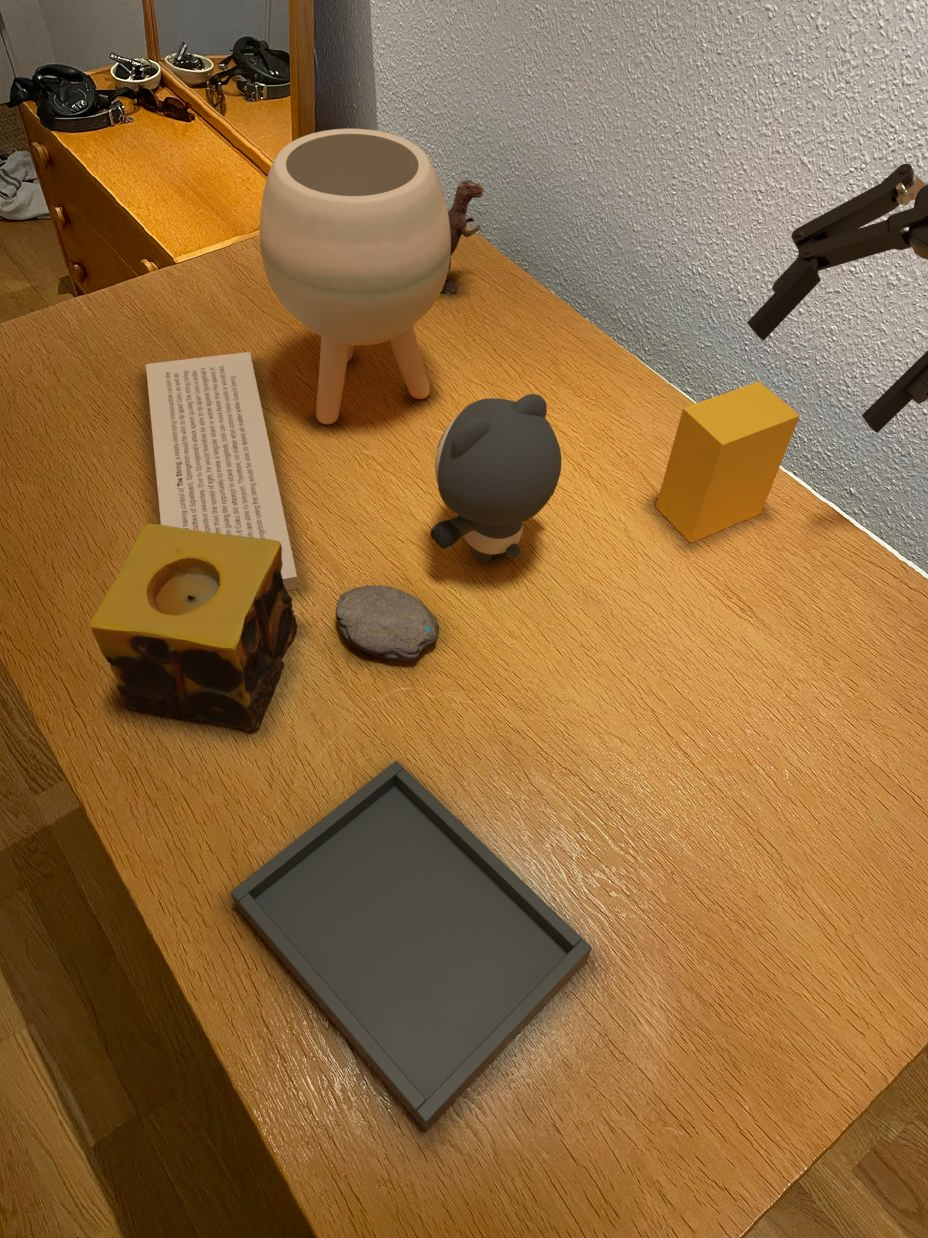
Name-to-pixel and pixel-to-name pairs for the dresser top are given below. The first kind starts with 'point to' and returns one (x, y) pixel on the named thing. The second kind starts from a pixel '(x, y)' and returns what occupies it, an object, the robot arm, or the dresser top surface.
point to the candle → (197, 625)
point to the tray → (411, 938)
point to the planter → (356, 247)
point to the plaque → (215, 451)
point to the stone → (386, 622)
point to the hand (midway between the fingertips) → (809, 376)
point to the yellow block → (725, 460)
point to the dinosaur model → (460, 221)
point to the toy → (495, 473)
